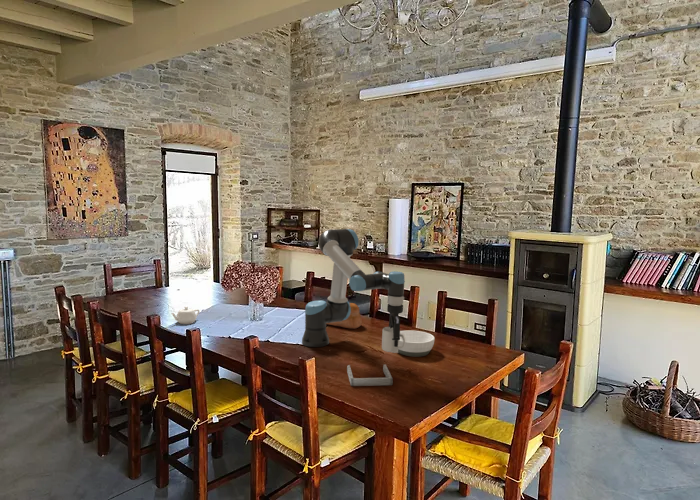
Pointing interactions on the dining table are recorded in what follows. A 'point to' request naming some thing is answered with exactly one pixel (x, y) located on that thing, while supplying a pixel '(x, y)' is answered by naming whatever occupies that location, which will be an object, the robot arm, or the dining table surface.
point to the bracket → (370, 379)
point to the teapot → (186, 316)
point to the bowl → (416, 343)
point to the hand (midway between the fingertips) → (393, 349)
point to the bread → (350, 319)
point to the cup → (389, 339)
